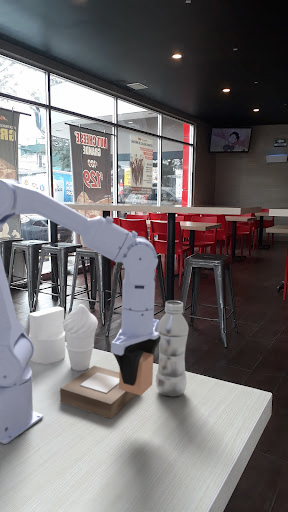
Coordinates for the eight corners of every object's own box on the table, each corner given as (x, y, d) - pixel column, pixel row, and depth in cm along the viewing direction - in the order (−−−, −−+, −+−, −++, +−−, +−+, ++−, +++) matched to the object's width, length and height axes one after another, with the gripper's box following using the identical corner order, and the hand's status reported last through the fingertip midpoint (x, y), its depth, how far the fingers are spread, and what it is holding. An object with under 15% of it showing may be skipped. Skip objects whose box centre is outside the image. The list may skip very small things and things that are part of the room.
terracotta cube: (140, 395, 70) (142, 363, 69) (119, 388, 72) (119, 357, 71) (152, 384, 74) (153, 354, 73) (131, 378, 76) (132, 349, 75)
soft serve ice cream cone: (59, 362, 99) (58, 300, 96) (91, 357, 102) (92, 297, 99) (67, 377, 91) (67, 310, 88) (102, 371, 95) (103, 306, 92)
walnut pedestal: (110, 418, 75) (111, 403, 75) (60, 401, 81) (60, 387, 80) (140, 391, 86) (140, 377, 85) (93, 377, 91) (93, 364, 91)
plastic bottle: (175, 404, 81) (180, 309, 78) (148, 393, 85) (152, 303, 82) (191, 392, 86) (196, 302, 83) (165, 382, 90) (169, 296, 87)
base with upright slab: (50, 346, 109) (50, 303, 107) (72, 355, 103) (72, 311, 101) (22, 356, 102) (21, 311, 100) (43, 366, 96) (43, 319, 94)
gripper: (138, 321, 63) (136, 401, 65) (174, 300, 75) (171, 367, 78) (100, 314, 66) (99, 390, 68) (141, 294, 78) (139, 359, 81)
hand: (135, 378), depth 73 cm, fingers closed on terracotta cube, 4 cm apart
